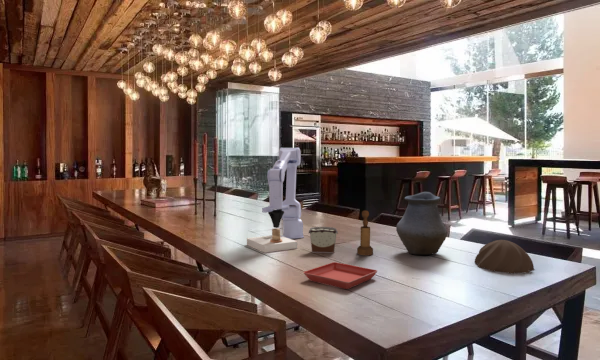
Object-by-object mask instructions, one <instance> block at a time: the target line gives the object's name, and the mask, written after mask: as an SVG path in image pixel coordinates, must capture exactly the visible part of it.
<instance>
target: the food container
mask: <svg viewBox="0 0 600 360" xmlns="http://www.w3.org/2000/svg"><path fill="white" fill-rule="evenodd" d="M308 234H309V236H310V237H309V238H310V246H311V247H310V248H311V253H323V254H325V253H326V254H334V253H335V249H336V239H337V235H338V234H339V233H338V229H337V228H335V227H333V226H332V227H331V226H313V227H310V228H309V230H308Z"/></svg>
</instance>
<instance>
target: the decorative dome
mask: <svg viewBox="0 0 600 360" xmlns="http://www.w3.org/2000/svg"><path fill="white" fill-rule="evenodd" d="M474 258H475V259H474V264H475V265H477V267H478V268H481V269H485V270H489V271H490V272H499V273H506V274H518V273H519V274H521V273H522V274H528V273H529V272H530V271H534V270H535V266H534V263H533V260H532V258H531V256H530V255H529V254H528V252H526V250H524V249H523V248H522V247H521V246H520V245H518V244H517V243H515V242H512V241H510V240H506V239H497V240H493V241H491V242H487V243H485V245H483V246H482V247H480V249H479V251H478V253H477V254H476V256H475V257H474Z"/></svg>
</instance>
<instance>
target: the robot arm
mask: <svg viewBox="0 0 600 360" xmlns="http://www.w3.org/2000/svg"><path fill="white" fill-rule="evenodd" d="M301 153H302V152H301V149H300V147H280V148H278V159H277V160H276V161H275V162H274V164H273V166H272V168H269V169H268V170H267V176H266V177H267V183H268V186H269V188H268V189H269V190H268V191H269V199H268V200H269V205H268V206H266V207H261V212H262V213H265V214H266V213H267V214H268V215H269V217H270V219H271V222H272V226H273V229H274V228H279V227H280V224H281V220H282V229H283V230H282V235H281V236H283V237H286V238H289V239H292V240H294V239H301V238H305V236H304V223H303V221H302V219H301V217H302V205H301V203H300V202H299V201H298V200H297V199H296V189H297V168H298V166H300V165H301V161H302V160H301V158H302V157H301V156H302V154H301ZM285 175H286V176H285ZM285 177H286V184H285V185H286V186H285V188H286V189H285V199H284V200H283V197H284V195H283V194H284V193H283V192H284V191H283V187H284V184H283V183H284V181H285ZM279 229H280V228H279Z"/></svg>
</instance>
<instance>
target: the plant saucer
mask: <svg viewBox="0 0 600 360" xmlns="http://www.w3.org/2000/svg"><path fill="white" fill-rule="evenodd" d="M377 272H378V270H377V269H372V268H368V267H362V266H357V265H352V264H347V263H341V262H336V261H334V262H329V263H327V264H324V265H321V266H317V267H315V268H311V269H308V270H306V271H305V270H304V271H303V274H304V276H305V277H307V278H308V280H310V281H311V282H314V283H317V284H318V283H319V284H321V285H322V284H323V285H326V286H331V287H335V288H339V289H344V290H349V289H351V288H353V287H356V286H359V285H361V284H362V283H365V282H367V281H370V280H371V279H372V278H373V277H374V276H375V275H377Z"/></svg>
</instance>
